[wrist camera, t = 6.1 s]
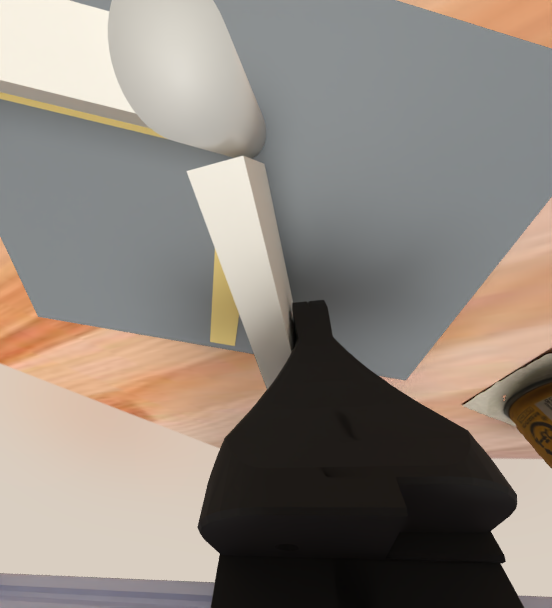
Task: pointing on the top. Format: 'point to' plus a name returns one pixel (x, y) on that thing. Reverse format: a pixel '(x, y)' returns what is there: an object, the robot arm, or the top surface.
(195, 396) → the top surface
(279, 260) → the fence panel
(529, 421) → the condiment
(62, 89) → the fixed fence section
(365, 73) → the board
